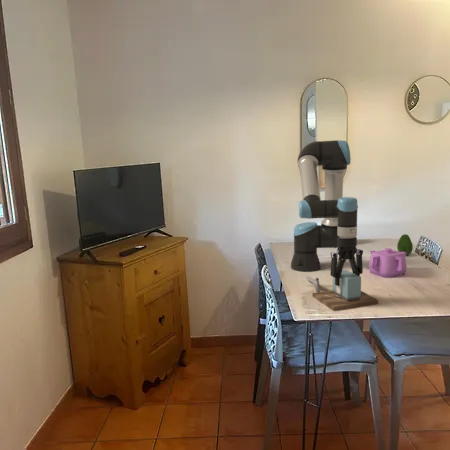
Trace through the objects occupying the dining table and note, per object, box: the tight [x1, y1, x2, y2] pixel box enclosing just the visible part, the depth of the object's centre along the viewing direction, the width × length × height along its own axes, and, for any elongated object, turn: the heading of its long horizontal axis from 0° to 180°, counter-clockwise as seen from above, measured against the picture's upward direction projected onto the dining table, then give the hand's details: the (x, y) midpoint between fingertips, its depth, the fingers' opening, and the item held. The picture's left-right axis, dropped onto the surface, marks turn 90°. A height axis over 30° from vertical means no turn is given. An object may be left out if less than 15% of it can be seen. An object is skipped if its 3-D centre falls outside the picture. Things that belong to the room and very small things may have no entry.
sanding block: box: [332, 269, 362, 301], centre depth 174 cm, size 11×6×9 cm, turn 17°
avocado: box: [396, 233, 414, 257], centre depth 238 cm, size 8×8×12 cm
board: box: [311, 289, 379, 311], centre depth 175 cm, size 17×20×2 cm
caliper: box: [305, 276, 320, 293], centre depth 195 cm, size 20×1×6 cm, turn 3°
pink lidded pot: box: [368, 247, 408, 279], centre depth 207 cm, size 17×17×12 cm
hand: (346, 291), depth 175 cm, fingers closed on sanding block, 6 cm apart
